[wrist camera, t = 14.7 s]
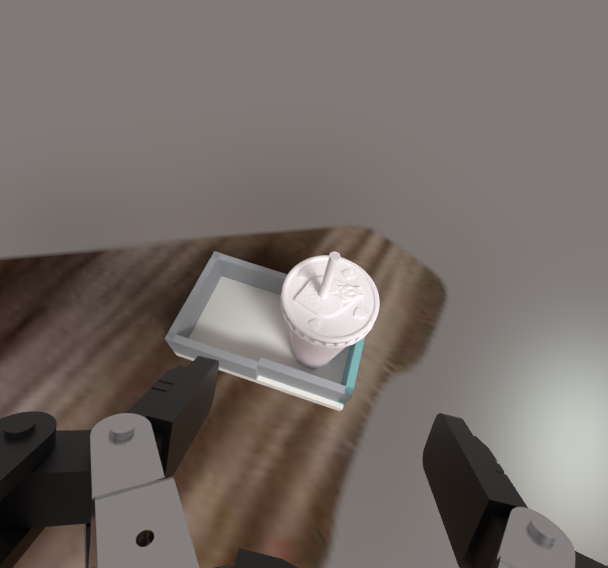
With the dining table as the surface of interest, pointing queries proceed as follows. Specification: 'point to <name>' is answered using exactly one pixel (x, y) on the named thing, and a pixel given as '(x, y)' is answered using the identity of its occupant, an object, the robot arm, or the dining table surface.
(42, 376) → the dining table surface
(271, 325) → the grey tray
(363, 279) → the smoothie
